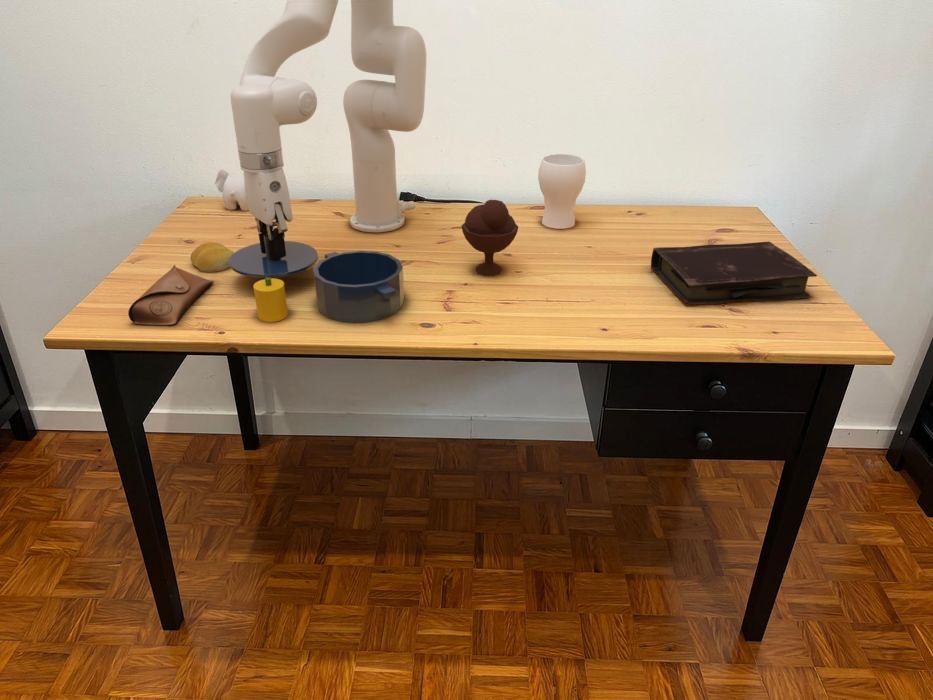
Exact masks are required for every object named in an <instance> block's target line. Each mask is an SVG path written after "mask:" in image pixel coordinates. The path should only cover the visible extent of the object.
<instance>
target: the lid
mask: <svg viewBox="0 0 933 700" xmlns="http://www.w3.org/2000/svg"><path fill="white" fill-rule="evenodd" d="M263 237H264V244H265V251H266V253H265V254H263V253H262V252H261V247H260V242H259V243H258V242H257V243H254V244H250V245H246V246H244V247H242V248H239V249H238V250H237V251H235V252H234V254H232V255H231V257H230V258H229V266H230V267H229V268H230V269H231V270H232V271H233V272H235V273H236V274H239V275H242V276H245V277H251V278H264V279H265V278H267V277H270V278H271V279H272V278H281V277H287V276H291V275H295V274H299V273H301V272H304V271H306V270H308V269H310V268H312V267H313V266H314V265H315V264H317V263H318V260H319V252H318V251H317V249H316V248H314V247H313V246H312V245H309V244H306V243H303V242H299V241H294V240H293V241H292V240H284V241H285V249H286V256H285V257H282V258H278V259H274V260H271V259H270V258H269V252H268V245H267V239H269V237H268V233H265V234H264V235H263Z"/></svg>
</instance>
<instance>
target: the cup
mask: <svg viewBox="0 0 933 700" xmlns="http://www.w3.org/2000/svg"><path fill="white" fill-rule="evenodd" d="M586 173H587V169H586V161H585V158H583V157H582V156H579V155H576V154H570V153H551V154H547V155H544V156H543V157H542V158H541V161H540V163H539V168H538V174H537V175H538V177H537V180H538V185H539V188H540V191H541V193H542V196H543V200H544V202H543V203H544V210H543V213H542V219H541V224H542V225H543V226H544V227H546V228H550V229H555V230H556V229H557V230H558V229H559V230H562V229H563V230H564V229H571V228H573V227H574V226H575V224H576V217H575V206H576V202H577V199H578V197H579V195H580V194H581V192H582V190H583V188H584V185H585V182H586V175H587V174H586Z"/></svg>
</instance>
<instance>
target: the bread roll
mask: <svg viewBox="0 0 933 700" xmlns="http://www.w3.org/2000/svg"><path fill="white" fill-rule="evenodd" d="M234 253H235V252H234V251H233V250H232V249H229V248H228V247H226V245H224V244H222V243H220V242H213V241H211V242H204V243H201V244H200V245H198V246H197V247H195V249H194V250H193V251H192V252H191V254H190V261H191V263H192V265H194V267H196V268H197V269H198V270H199V271H201V272H208V273H209V272H220V271H223V270H227V269H229V268H230V266H229V258H230V257H231V255H232V254H234Z"/></svg>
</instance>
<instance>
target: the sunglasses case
mask: <svg viewBox="0 0 933 700" xmlns="http://www.w3.org/2000/svg"><path fill="white" fill-rule="evenodd" d="M213 283H214V280H209V279H207V278H203V277H201V276H199V275H196V274H194V273H192V272H190V271H187V270H184V269H182V268H180V267H177V266H176V264H174V265H173V266H172V267H171V268H170V270H168V271H167V272H166V273H165V274H163V275H162V276H161V277H160V278H158V280H156V281H155V282H154V283H153V284H151V286H150V287H149V288H148V289H147V290H146V291H145V292H143V294H141V296H139V298H136V299H135V301H134V302H133V303H132V304H131V305H130V306H129V309H128V318H129V320H130V321H131V322H132V323H133V324H134V325H142V326H150V327H151V326H153V327H156V326H161V327H162V326H173V325H175V324H177V323H178V322H179V320H180V318H181V317H182V315H184V313H186V311H187V310H188V309H189V308H190V307H191V305H192V304H193V303H194V302H195V301H197V299H198V298H199V297H200V296H202V294H204V293H205V292H206V290H207V289H208V288H209V287H211V285H212V284H213Z"/></svg>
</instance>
